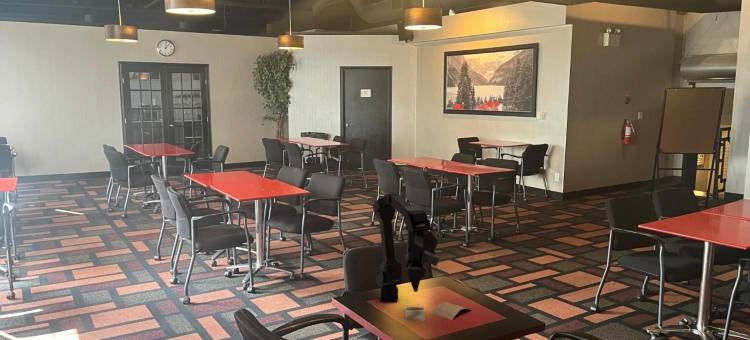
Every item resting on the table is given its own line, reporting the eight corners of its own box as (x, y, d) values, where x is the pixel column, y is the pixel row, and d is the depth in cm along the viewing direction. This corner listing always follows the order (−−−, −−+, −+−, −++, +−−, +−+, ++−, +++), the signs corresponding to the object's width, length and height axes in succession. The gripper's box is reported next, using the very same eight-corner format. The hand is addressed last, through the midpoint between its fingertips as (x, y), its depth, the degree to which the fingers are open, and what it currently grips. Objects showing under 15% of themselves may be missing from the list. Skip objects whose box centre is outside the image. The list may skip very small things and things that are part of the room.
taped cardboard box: (405, 321, 207) (405, 311, 207) (404, 316, 212) (404, 306, 212) (425, 321, 207) (425, 311, 207) (423, 315, 212) (423, 306, 212)
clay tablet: (451, 322, 207) (452, 314, 207) (428, 315, 214) (429, 308, 214) (473, 311, 218) (473, 304, 218) (451, 305, 225) (451, 298, 225)
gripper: (441, 251, 197) (440, 296, 199) (435, 238, 216) (434, 279, 218) (408, 251, 197) (407, 296, 199) (405, 238, 216) (405, 279, 218)
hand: (414, 287), depth 208 cm, fingers open, 9 cm apart
